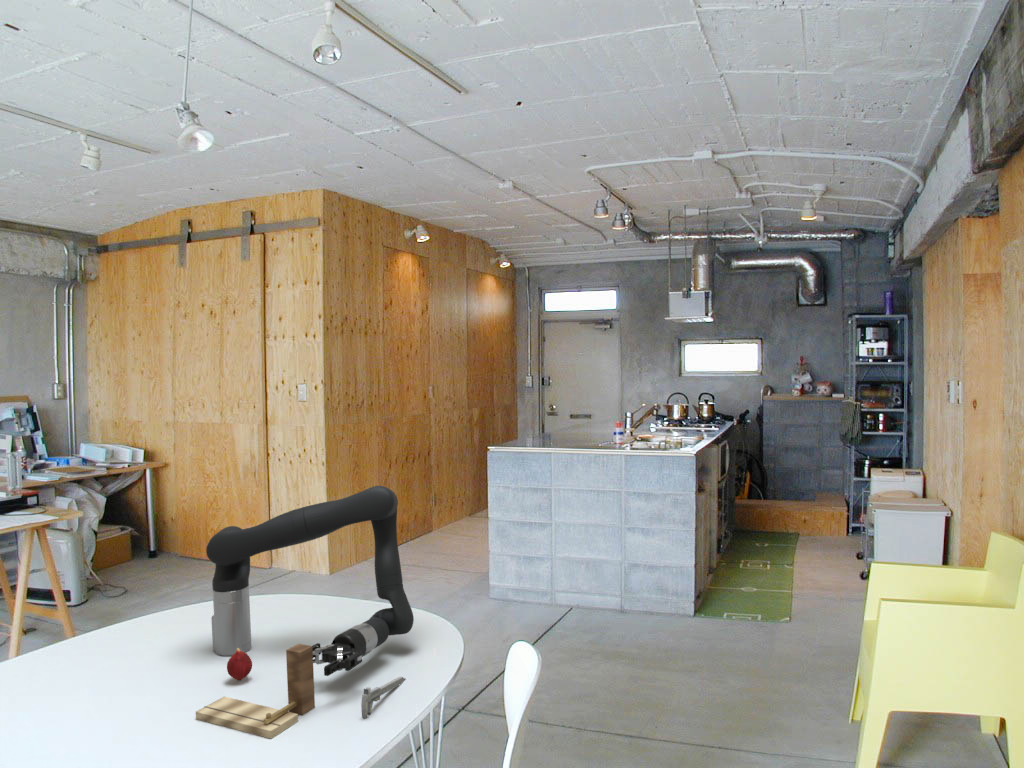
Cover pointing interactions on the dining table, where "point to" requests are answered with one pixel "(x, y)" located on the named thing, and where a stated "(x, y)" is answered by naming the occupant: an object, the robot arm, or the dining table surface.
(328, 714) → the dining table surface
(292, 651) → the block
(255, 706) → the board
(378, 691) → the caliper
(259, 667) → the dining table surface
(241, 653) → the onion
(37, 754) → the dining table surface
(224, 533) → the robot arm
